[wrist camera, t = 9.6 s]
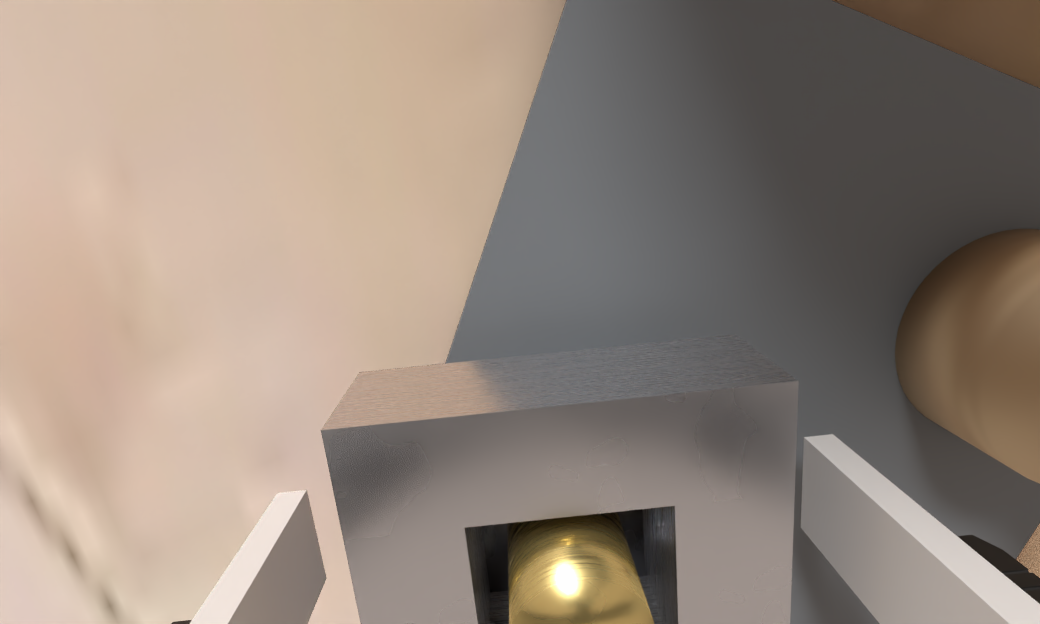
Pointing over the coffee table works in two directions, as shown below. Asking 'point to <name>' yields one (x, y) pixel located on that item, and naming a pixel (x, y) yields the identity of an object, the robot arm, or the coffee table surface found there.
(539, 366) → the square hole frame
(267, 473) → the coffee table surface
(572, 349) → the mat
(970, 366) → the stand
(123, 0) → the coffee table surface
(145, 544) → the coffee table surface
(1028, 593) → the robot arm
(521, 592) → the cylinder
